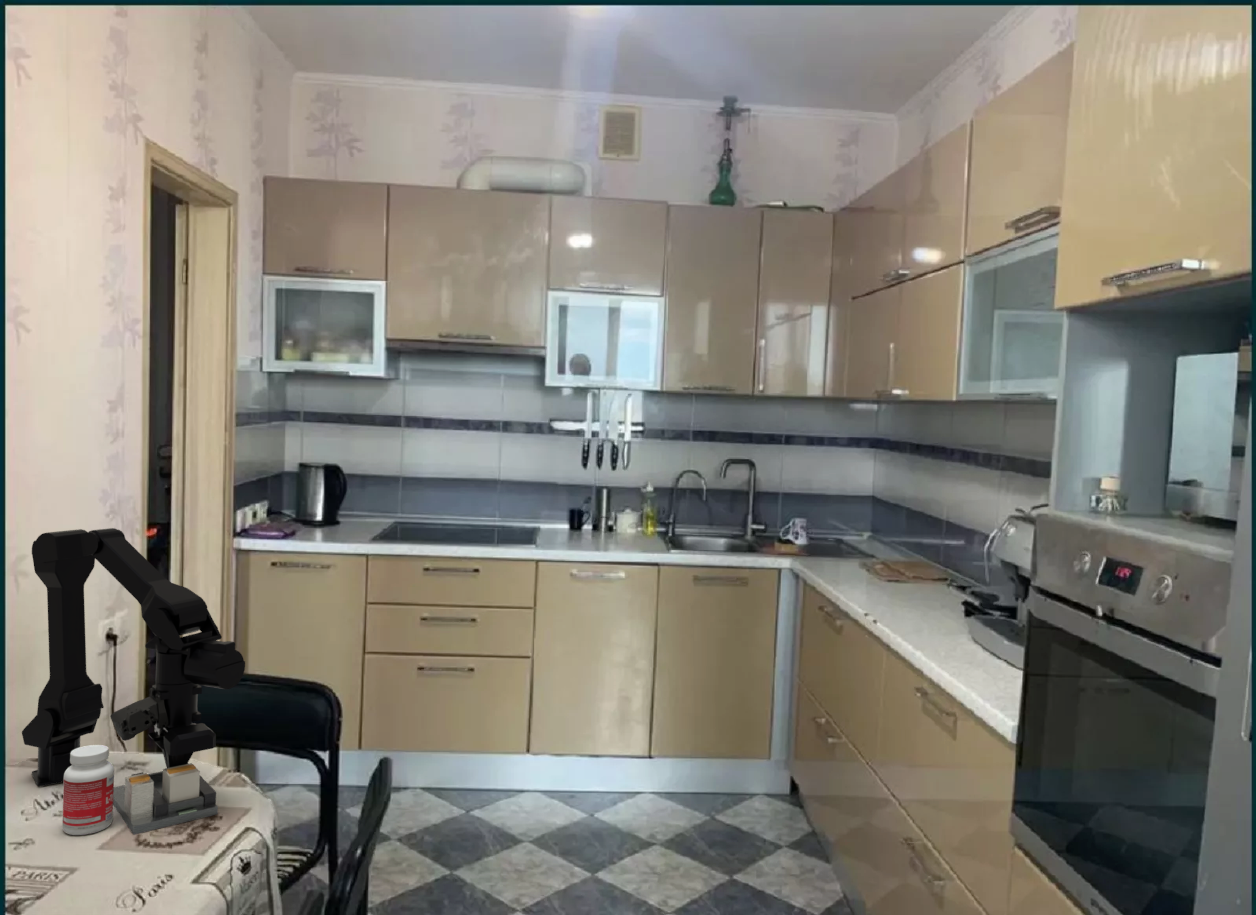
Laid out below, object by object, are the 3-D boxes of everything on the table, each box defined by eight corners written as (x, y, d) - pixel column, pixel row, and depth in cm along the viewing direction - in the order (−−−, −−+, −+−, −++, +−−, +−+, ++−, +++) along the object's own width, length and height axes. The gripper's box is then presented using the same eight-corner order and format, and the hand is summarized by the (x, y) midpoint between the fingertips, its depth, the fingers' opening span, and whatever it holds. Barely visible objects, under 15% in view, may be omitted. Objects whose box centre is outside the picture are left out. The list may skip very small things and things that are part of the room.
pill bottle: (114, 830, 125) (116, 753, 124) (62, 840, 121) (64, 760, 121) (111, 813, 130) (113, 739, 130) (61, 822, 127) (63, 746, 126)
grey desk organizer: (107, 796, 136) (108, 754, 136) (185, 779, 143) (187, 739, 143) (133, 834, 124) (134, 788, 124) (217, 814, 131) (218, 770, 131)
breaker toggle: (161, 801, 132) (163, 766, 132) (190, 795, 134) (191, 761, 134) (169, 811, 129) (170, 775, 129) (198, 804, 131) (199, 769, 131)
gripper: (102, 673, 135) (99, 773, 136) (133, 705, 121) (130, 817, 122) (180, 662, 143) (178, 757, 143) (218, 691, 129) (215, 797, 129)
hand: (174, 781), depth 134 cm, fingers closed
